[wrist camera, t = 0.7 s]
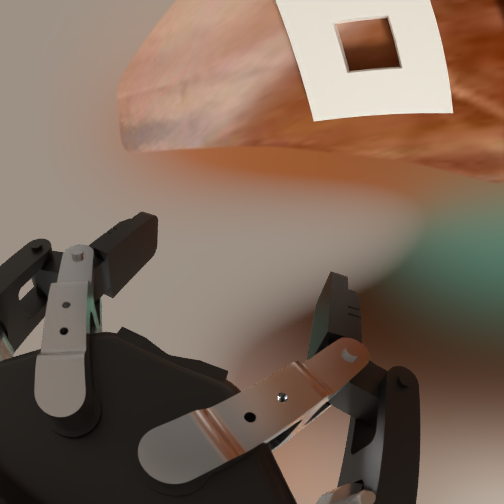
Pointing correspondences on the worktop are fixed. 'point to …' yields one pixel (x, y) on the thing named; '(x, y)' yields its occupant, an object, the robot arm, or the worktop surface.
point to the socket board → (368, 80)
